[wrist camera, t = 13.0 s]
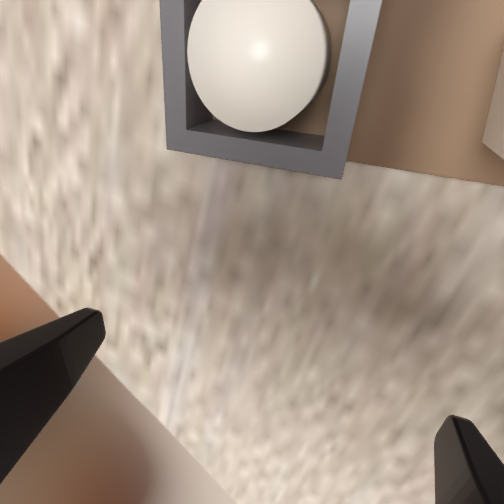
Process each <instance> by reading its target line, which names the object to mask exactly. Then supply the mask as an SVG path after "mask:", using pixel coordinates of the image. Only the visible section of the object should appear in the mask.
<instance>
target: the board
mask: <svg viewBox="0 0 504 504" xmlns="http://www.w3.org/2000/svg"><path fill="white" fill-rule="evenodd" d="M312 1H313V2H314V3H315V4H316V5H317V7H318V8H319V9H320V11H321V12H322V14H323V16H324V18H325V20H326V22H327V25H328V27H329V31H330V35H331V42H332V59H331V66H330V70H329V74H328V76H327V79H326V82H325V84H324V86H323V88H322V89H321V91H320V92H319V94H318V95H317V97H316V98H315V99H314V100H313V101H312V102H311V103H310V104H309V105H308V106H307V107H306V108H305V109H303V110H302V111H301V112H300V113H298V114H297V115H296V116H295V117H293V118H292V119H291V120H289V121H288V122H287V123H285V124H283V125H281V126H279V127H277V128H275V129H282V130H289V131H295V132H302V133H309V134H316V135H322V136H325V132H326V127H327V122H328V116H329V111H330V106H331V100H332V95H333V90H334V84H335V79H336V74H337V68H338V63H339V58H340V52H341V47H342V42H343V37H344V31H345V26H346V21H347V15H348V10H349V5H350V0H312ZM503 49H504V0H382V5H381V9H380V13H379V18H378V22H377V26H376V31H375V35H374V40H373V44H372V48H371V53H370V57H369V62H368V66H367V70H366V75H365V79H364V83H363V88H362V92H361V97H360V101H359V105H358V110H357V114H356V118H355V123H354V127H353V132H352V136H351V140H350V145H349V149H348V154H347V158H346V161H351V162H357V163H363V164H369V165H376V166H382V167H388V168H394V169H400V170H407V171H413V172H419V173H425V174H431V175H438V176H444V177H450V178H456V179H462V180H469V181H475V182H481V183H487V184H493V185H500V186H504V159H502V158H501V157H500V156H499V155H497V154H496V153H495V152H493V151H492V150H491V149H490V148H488V147H487V146H486V145H485V144H483V143H482V139H483V135H484V131H485V126H486V122H487V118H488V114H489V109H490V105H491V101H492V96H493V92H494V88H495V83H496V79H497V75H498V70H499V66H500V62H501V57H502V53H503ZM213 119H214V120H219V119H217V118H216V117H215V116H214V115H213Z"/></svg>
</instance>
